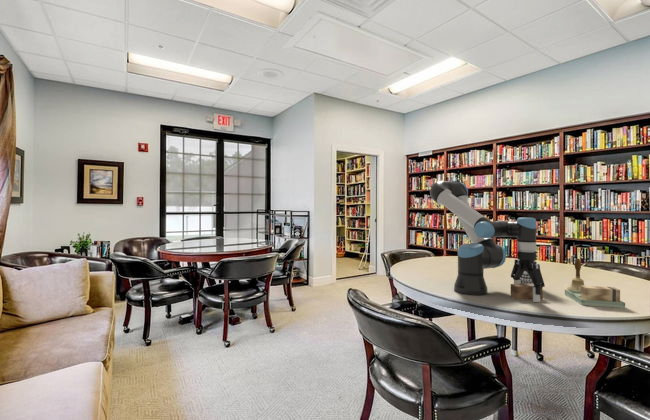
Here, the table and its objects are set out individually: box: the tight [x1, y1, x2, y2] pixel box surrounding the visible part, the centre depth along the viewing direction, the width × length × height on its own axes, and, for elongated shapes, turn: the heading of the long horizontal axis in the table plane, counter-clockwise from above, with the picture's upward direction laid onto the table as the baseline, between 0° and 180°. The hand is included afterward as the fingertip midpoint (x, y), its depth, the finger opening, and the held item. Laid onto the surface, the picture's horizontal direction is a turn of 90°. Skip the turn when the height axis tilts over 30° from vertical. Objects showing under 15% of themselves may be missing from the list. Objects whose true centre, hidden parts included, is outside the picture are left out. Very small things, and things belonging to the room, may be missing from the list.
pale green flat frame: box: [564, 289, 626, 309], centre depth 141 cm, size 15×17×2 cm
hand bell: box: [566, 258, 585, 291], centre depth 160 cm, size 8×8×16 cm
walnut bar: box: [510, 283, 544, 301], centre depth 146 cm, size 12×5×6 cm, turn 92°
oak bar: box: [581, 285, 621, 302], centre depth 136 cm, size 12×5×6 cm, turn 72°
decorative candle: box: [516, 250, 539, 284], centre depth 167 cm, size 9×9×25 cm
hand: (526, 297), depth 146 cm, fingers open, 12 cm apart
